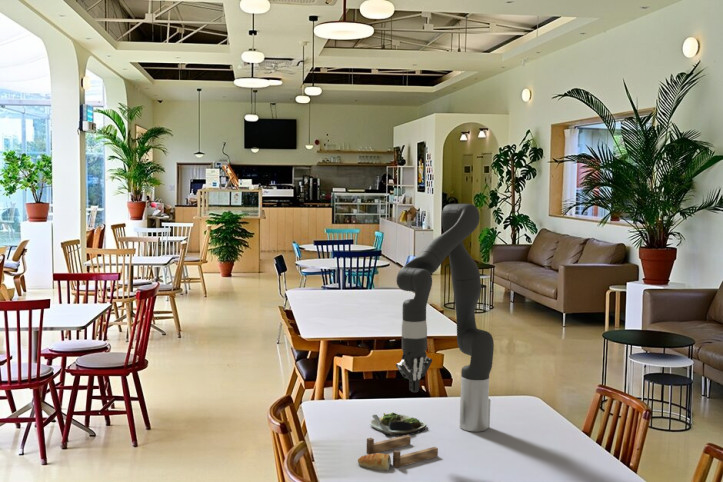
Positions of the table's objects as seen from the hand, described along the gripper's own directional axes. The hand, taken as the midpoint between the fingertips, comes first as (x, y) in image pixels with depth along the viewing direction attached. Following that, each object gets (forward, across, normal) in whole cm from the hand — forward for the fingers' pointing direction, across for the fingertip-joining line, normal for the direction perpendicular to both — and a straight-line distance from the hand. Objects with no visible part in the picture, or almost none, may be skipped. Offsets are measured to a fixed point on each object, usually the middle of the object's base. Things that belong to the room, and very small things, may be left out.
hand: (414, 391), depth 226 cm
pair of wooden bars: (+19, +4, 0) cm, 19 cm away
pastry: (+19, +16, +2) cm, 25 cm away
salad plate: (+20, -11, -20) cm, 30 cm away
